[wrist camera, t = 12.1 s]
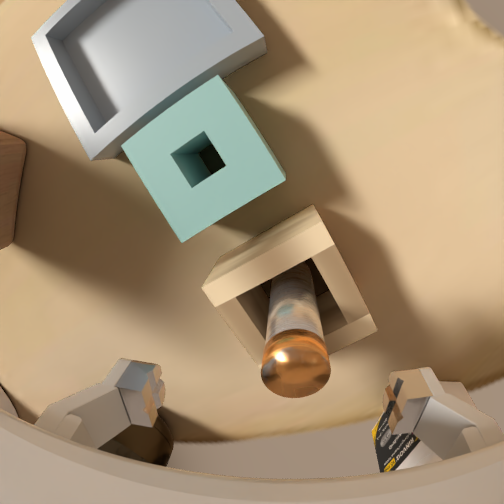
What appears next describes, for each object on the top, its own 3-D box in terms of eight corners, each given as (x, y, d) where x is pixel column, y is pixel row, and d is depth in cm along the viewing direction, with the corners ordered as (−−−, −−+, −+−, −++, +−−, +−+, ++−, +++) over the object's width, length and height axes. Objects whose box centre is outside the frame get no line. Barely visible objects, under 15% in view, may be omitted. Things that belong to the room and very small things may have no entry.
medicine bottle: (402, 376, 23) (444, 491, 11) (462, 380, 22) (512, 474, 11) (369, 430, 25) (389, 535, 14) (427, 430, 25) (457, 521, 13)
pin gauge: (287, 301, 21) (287, 406, 12) (263, 272, 21) (246, 367, 12) (319, 280, 21) (343, 377, 11) (296, 249, 20) (305, 333, 11)
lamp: (97, 373, 26) (-21, 545, 5) (187, 416, 26) (112, 621, 5) (93, 423, 29) (11, 561, 8) (167, 458, 29) (110, 612, 9)
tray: (114, 158, 20) (90, 160, 17) (53, 45, 17) (31, 37, 14) (267, 52, 17) (264, 36, 14) (177, -52, 14) (165, -71, 11)
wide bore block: (273, 336, 22) (269, 380, 18) (219, 257, 21) (201, 287, 16) (360, 292, 21) (377, 330, 16) (313, 204, 19) (322, 221, 15)
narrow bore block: (205, 221, 20) (181, 243, 16) (157, 145, 19) (120, 145, 14) (285, 173, 19) (285, 180, 14) (234, 93, 18) (217, 74, 13)
